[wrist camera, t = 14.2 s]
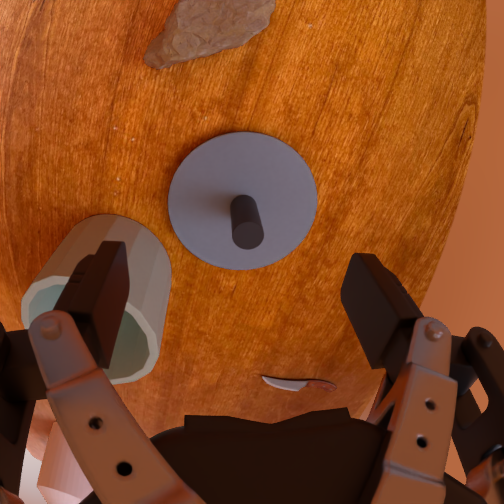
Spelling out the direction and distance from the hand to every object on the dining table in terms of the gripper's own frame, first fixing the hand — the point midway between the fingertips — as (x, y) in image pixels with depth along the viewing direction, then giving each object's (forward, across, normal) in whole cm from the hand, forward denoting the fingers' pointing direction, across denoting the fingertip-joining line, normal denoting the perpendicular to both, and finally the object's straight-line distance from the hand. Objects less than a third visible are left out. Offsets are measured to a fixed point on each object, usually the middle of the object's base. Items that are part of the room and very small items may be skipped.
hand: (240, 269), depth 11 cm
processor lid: (+18, -2, +5) cm, 19 cm away
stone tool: (+19, +2, -11) cm, 22 cm away
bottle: (+18, +29, +59) cm, 68 cm away
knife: (+18, -13, +33) cm, 40 cm away
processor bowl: (+18, +11, +13) cm, 25 cm away
